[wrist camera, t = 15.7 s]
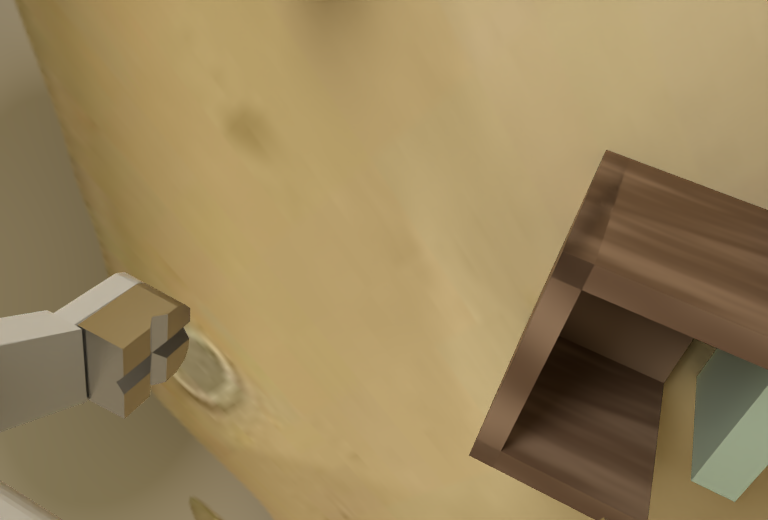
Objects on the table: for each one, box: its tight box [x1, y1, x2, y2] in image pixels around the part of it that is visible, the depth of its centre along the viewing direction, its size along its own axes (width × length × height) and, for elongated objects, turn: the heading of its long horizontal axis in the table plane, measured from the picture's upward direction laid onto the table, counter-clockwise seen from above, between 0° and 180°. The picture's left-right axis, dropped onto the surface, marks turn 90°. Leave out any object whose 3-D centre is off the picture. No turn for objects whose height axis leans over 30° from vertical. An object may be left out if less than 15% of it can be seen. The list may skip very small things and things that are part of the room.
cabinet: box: [469, 150, 768, 520], centre depth 37 cm, size 17×16×14 cm
